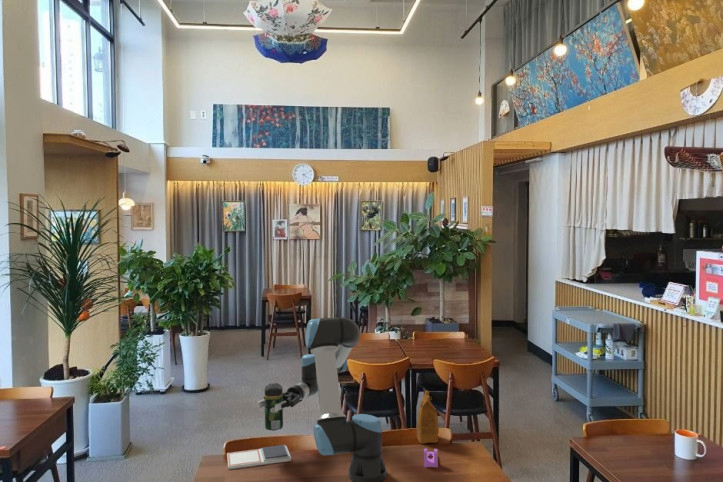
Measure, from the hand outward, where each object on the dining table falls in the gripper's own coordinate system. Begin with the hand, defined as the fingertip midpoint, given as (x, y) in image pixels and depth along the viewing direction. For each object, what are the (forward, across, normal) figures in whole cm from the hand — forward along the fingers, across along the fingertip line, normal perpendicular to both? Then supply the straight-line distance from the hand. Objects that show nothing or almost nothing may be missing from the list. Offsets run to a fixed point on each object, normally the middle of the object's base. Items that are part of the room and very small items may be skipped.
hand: (266, 406), depth 216 cm
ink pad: (-5, 0, -22) cm, 22 cm away
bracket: (-31, -63, -23) cm, 74 cm away
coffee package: (-52, -53, -23) cm, 78 cm away
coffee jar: (-5, 0, -11) cm, 12 cm away
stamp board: (0, +5, -23) cm, 23 cm away
